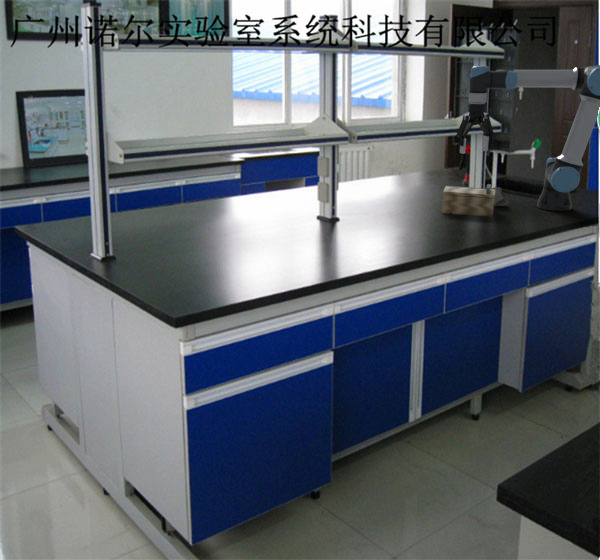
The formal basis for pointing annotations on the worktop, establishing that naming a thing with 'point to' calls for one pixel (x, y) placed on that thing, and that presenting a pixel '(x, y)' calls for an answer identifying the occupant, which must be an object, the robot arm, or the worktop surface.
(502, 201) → the stone
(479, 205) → the box
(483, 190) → the cover plate
